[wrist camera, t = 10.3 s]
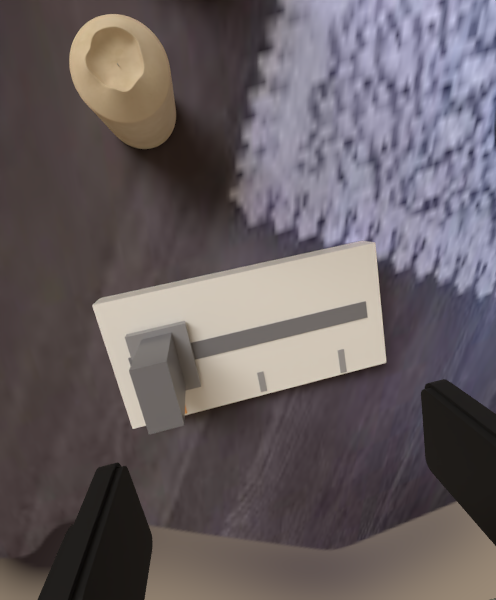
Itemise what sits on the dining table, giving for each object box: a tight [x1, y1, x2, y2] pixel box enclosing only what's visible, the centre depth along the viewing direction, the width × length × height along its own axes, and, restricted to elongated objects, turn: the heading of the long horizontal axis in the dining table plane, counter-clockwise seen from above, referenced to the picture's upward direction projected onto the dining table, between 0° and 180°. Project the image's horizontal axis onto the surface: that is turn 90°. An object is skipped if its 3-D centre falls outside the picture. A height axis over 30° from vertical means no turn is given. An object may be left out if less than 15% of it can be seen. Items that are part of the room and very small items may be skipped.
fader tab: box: [125, 321, 201, 435], centre depth 27 cm, size 5×6×7 cm
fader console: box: [92, 241, 386, 429], centre depth 32 cm, size 25×12×3 cm, turn 101°
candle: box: [69, 14, 176, 149], centre depth 23 cm, size 6×6×10 cm
